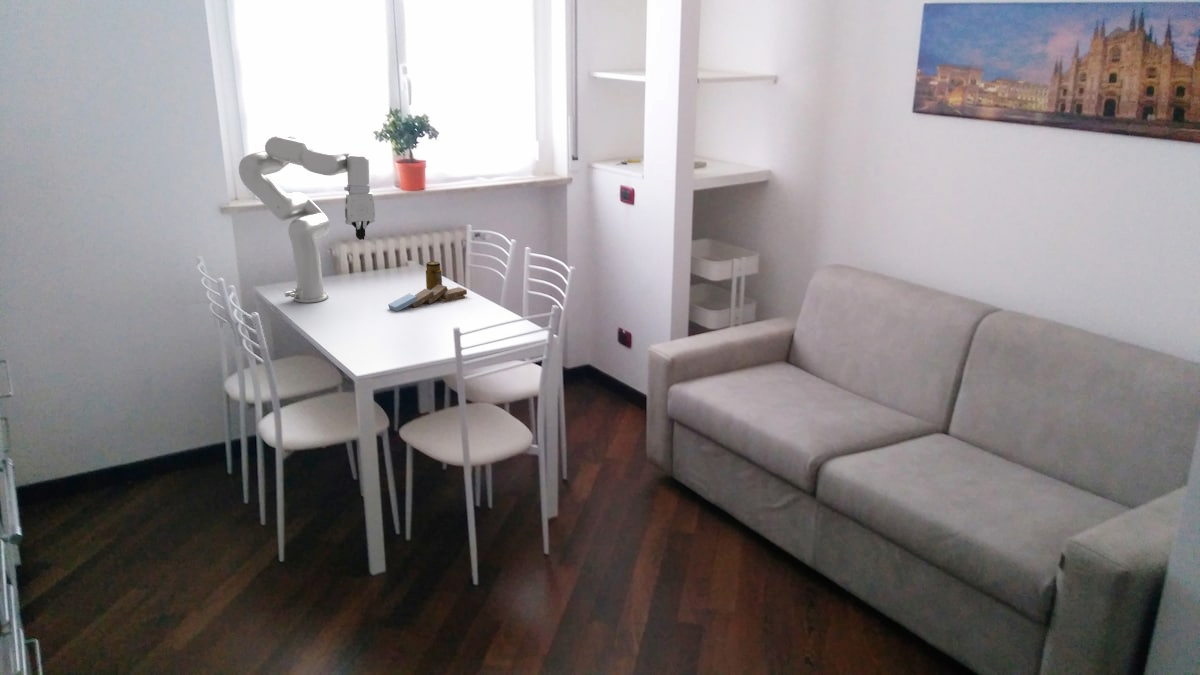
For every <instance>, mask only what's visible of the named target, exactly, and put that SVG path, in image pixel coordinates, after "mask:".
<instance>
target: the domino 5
mask: <svg viewBox="0 0 1200 675" xmlns="http://www.w3.org/2000/svg"><path fill="white" fill-rule="evenodd" d="M465 298H466V295H462V296H457V297H453V298H449V299H445V298H442V297H439V298H438V299H436V300H437V301H439V302H441V303H448V302H452V300H453V301H457V300H462V299H465ZM447 301H448V302H447Z"/></svg>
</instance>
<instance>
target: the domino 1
mask: <svg viewBox="0 0 1200 675" xmlns="http://www.w3.org/2000/svg"><path fill="white" fill-rule="evenodd" d="M414 295H415V294H412V293H408V294H405V295H404V296H402V297H399V298H398V299H396V300H394V301H392V302H390V303H389V304H388V306H387V307H388V308H389V309H390V310H392V311H394V312H395V313H396V312H399V311H401V310H403V309H404V308H407V307H408V306H409V305H410V304H412V303H414V302H416V301H418V300H417V297H416V296H414ZM409 307H410V306H409Z"/></svg>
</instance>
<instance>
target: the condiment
mask: <svg viewBox="0 0 1200 675" xmlns="http://www.w3.org/2000/svg"><path fill="white" fill-rule="evenodd" d="M442 277H443V276H442V269H441V263H440V262H438V261H428V262H426V269H425V284H426V286H425V287H426V289H428V290H431V289H432V288H434V287H435V286H436V285H438V284H439V285H443V278H442Z"/></svg>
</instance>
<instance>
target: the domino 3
mask: <svg viewBox="0 0 1200 675" xmlns="http://www.w3.org/2000/svg"><path fill="white" fill-rule="evenodd" d="M448 290H449V288H448V287H447V286H446V285H443V284H442V285H439V284H438V285H436V286H435V287H434V288H432V289H431V291H433V293H434V296H433V297H431V298H429V299H428V300H426V301H425V302H424V303H425V304H426V303H427V304H430V305H431V304H433V303H434V302H435V301H436V300H437V299H438V298H439V297H440V296H441V295H443V294H444V293H445V292H446V291H448Z"/></svg>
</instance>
